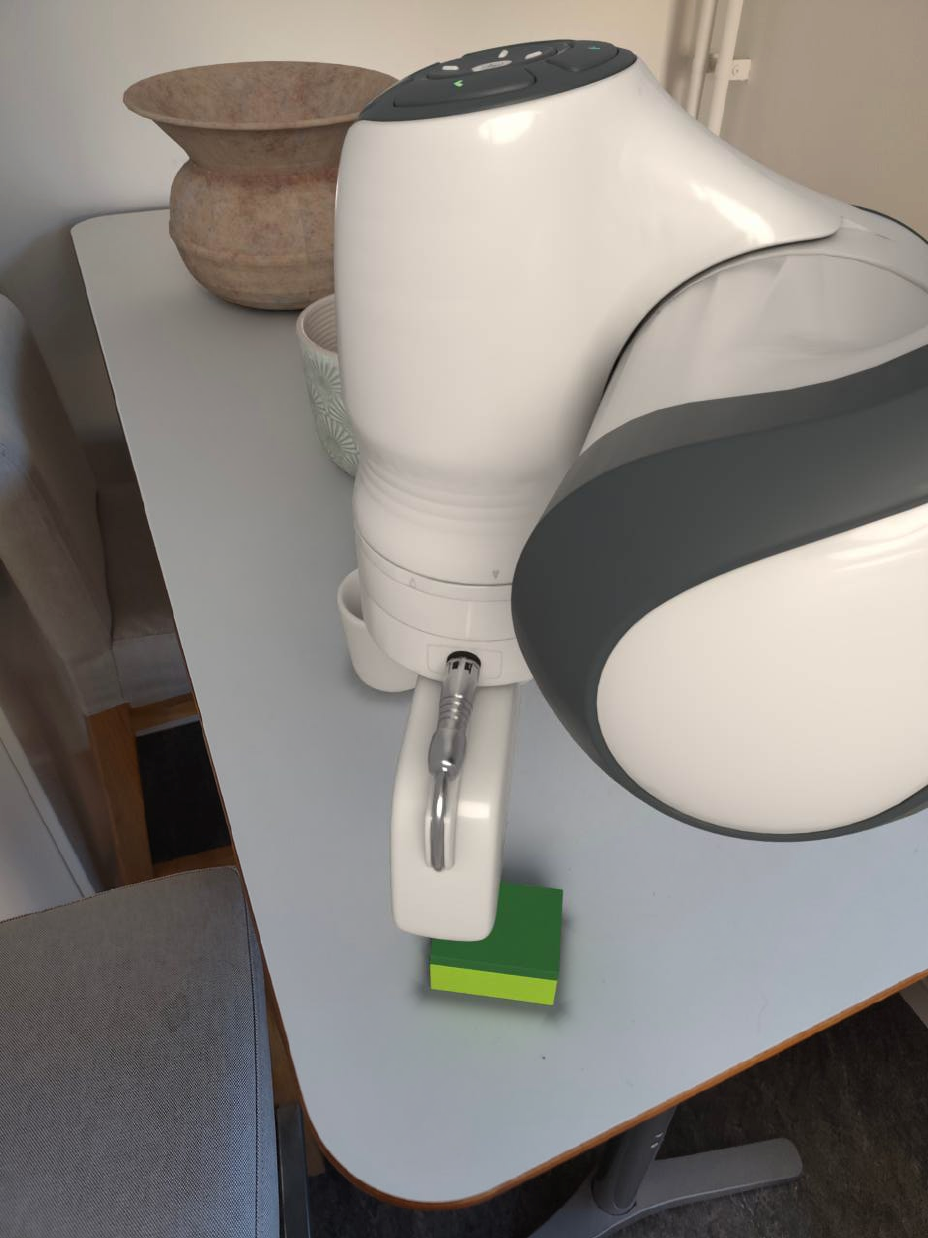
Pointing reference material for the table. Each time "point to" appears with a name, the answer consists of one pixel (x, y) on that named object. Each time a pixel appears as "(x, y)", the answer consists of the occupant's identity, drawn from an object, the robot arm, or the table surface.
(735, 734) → the robot arm
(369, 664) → the cup
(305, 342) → the planter
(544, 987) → the sponge
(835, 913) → the table surface
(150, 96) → the pot
